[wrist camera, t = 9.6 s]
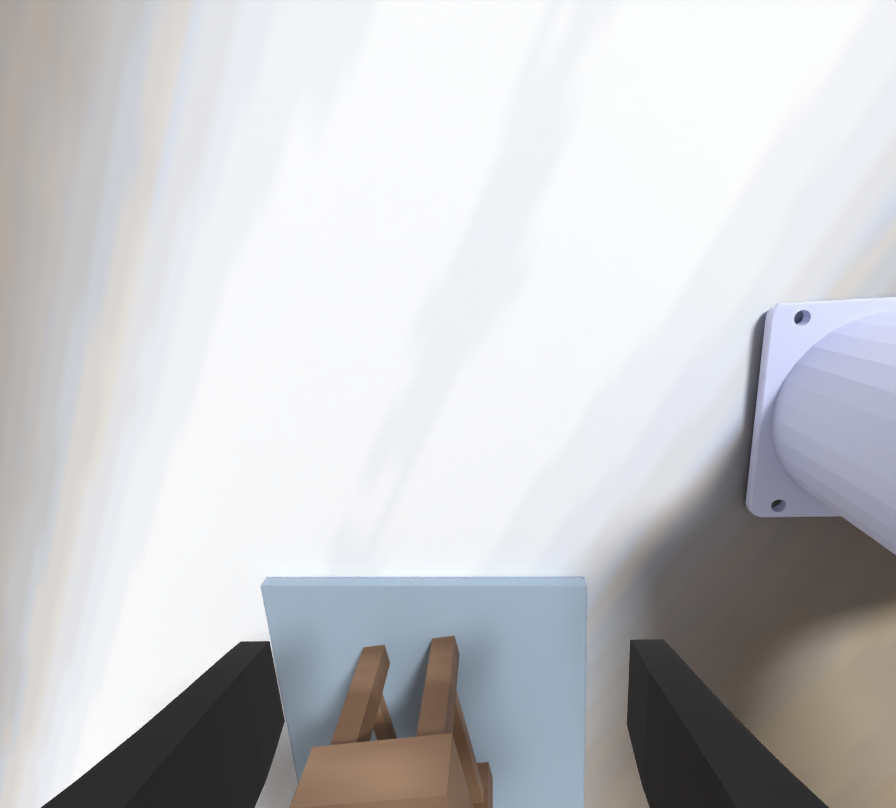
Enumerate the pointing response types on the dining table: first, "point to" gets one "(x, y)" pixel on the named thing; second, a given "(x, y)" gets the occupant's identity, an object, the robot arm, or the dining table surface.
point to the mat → (479, 672)
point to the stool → (398, 746)
